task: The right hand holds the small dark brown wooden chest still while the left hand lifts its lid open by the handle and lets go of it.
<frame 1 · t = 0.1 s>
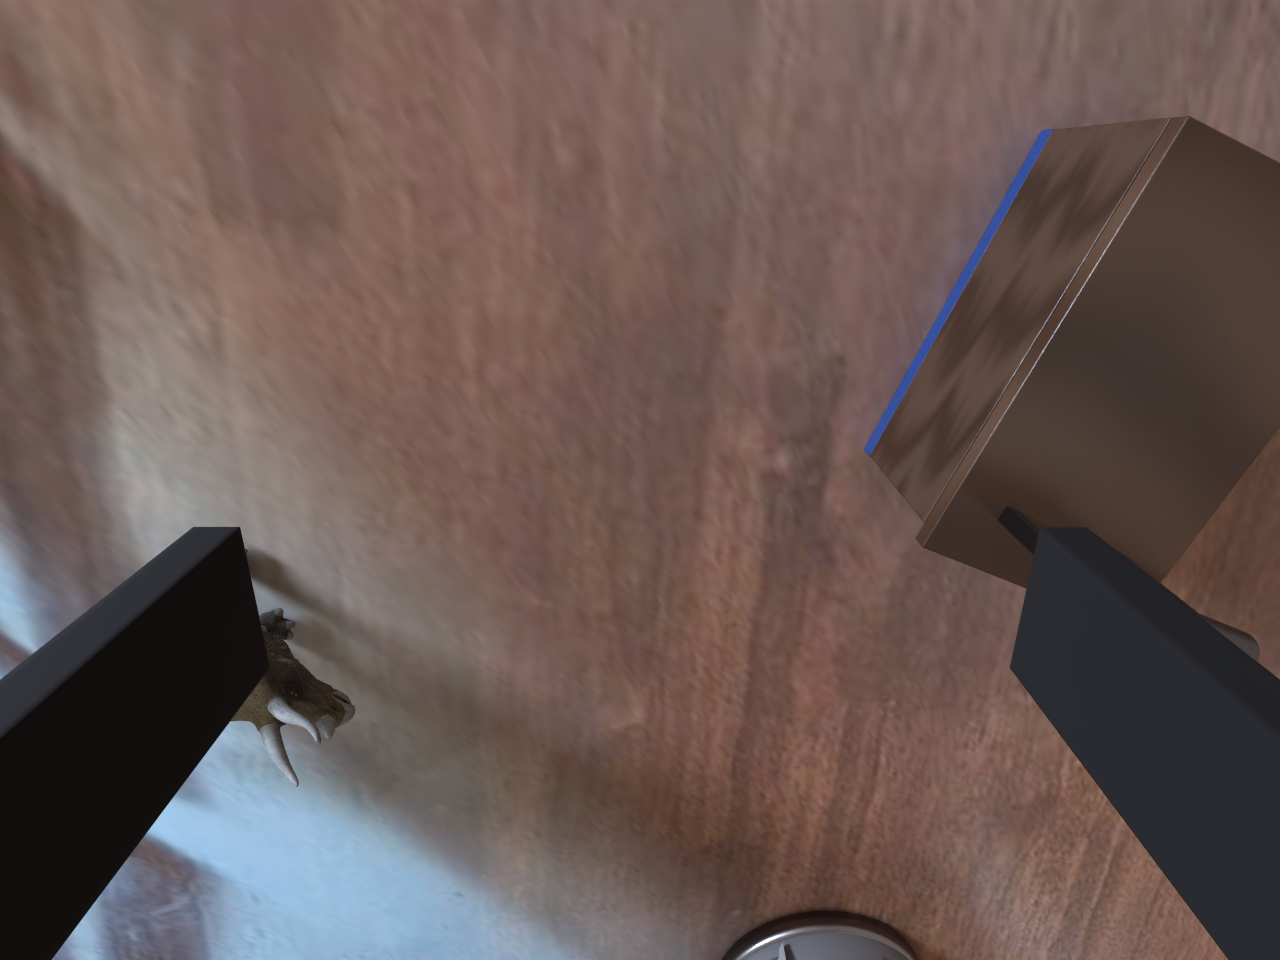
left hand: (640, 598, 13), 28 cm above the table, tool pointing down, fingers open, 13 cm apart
chest: (1033, 341, 39), on the table
toy dinosaur: (202, 606, 45), on the table
lid: (1212, 430, 27), point 14 cm above the table, hinge at 0.0°
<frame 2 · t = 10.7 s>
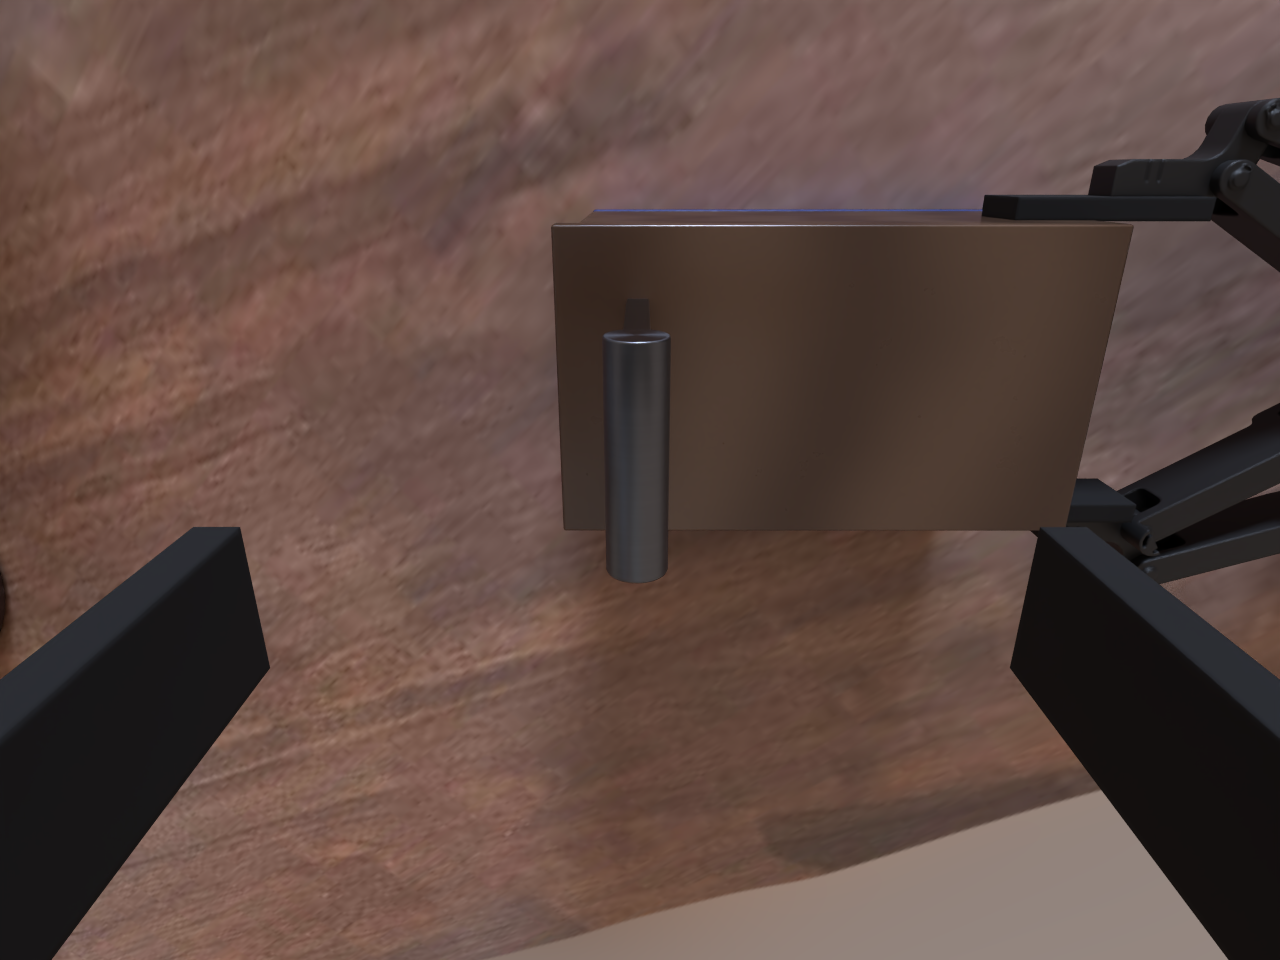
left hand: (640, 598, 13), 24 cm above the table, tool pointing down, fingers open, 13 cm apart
chest: (784, 330, 35), on the table, touching right hand
lid: (853, 419, 22), point 14 cm above the table, hinge at 0.0°
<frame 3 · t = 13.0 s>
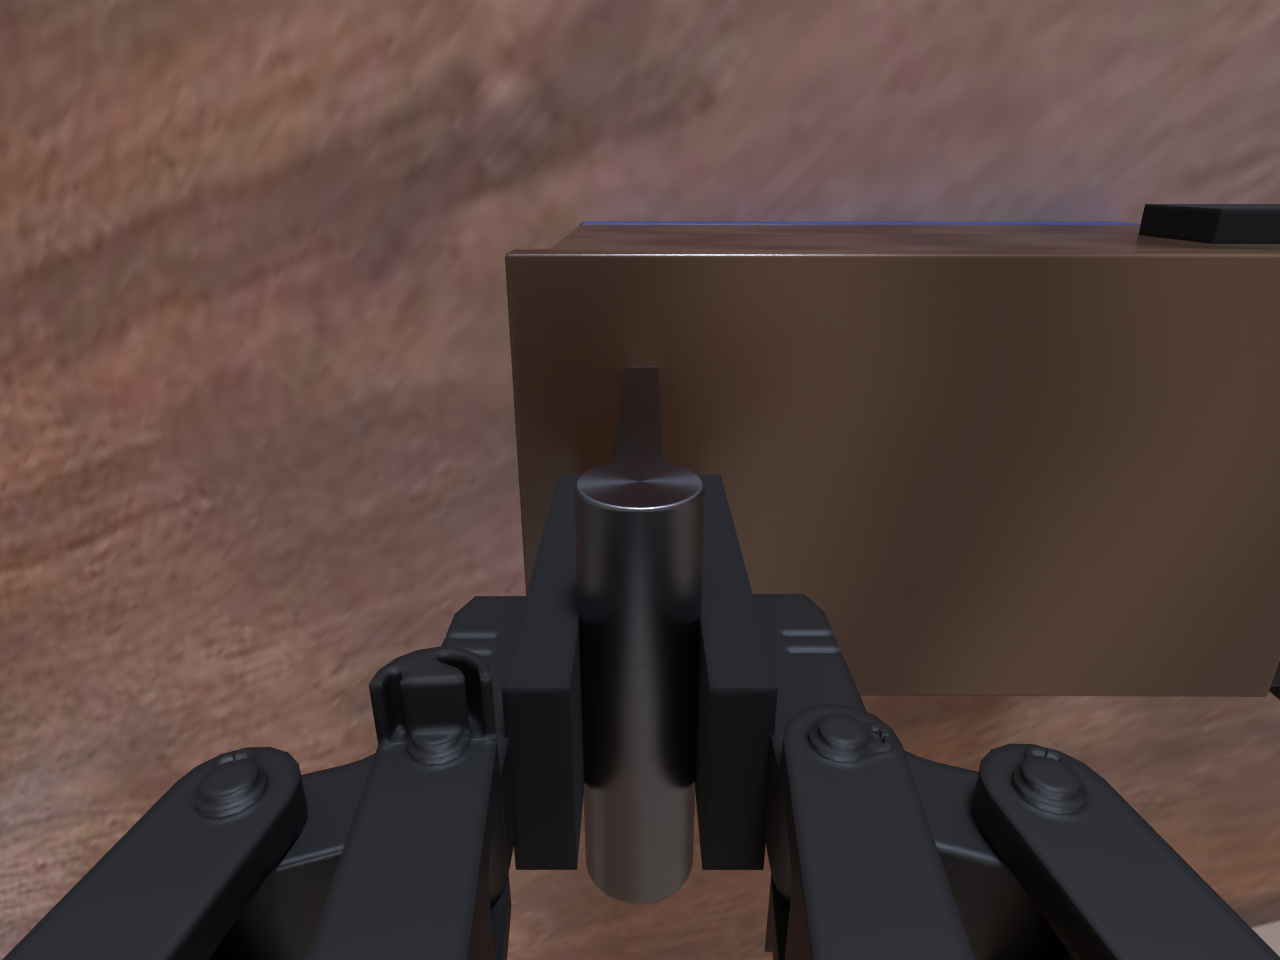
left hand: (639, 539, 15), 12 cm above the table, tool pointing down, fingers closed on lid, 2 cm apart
chest: (835, 381, 26), on the table, touching right hand
lid: (992, 573, 14), point 14 cm above the table, hinge at -0.1°, touching left hand
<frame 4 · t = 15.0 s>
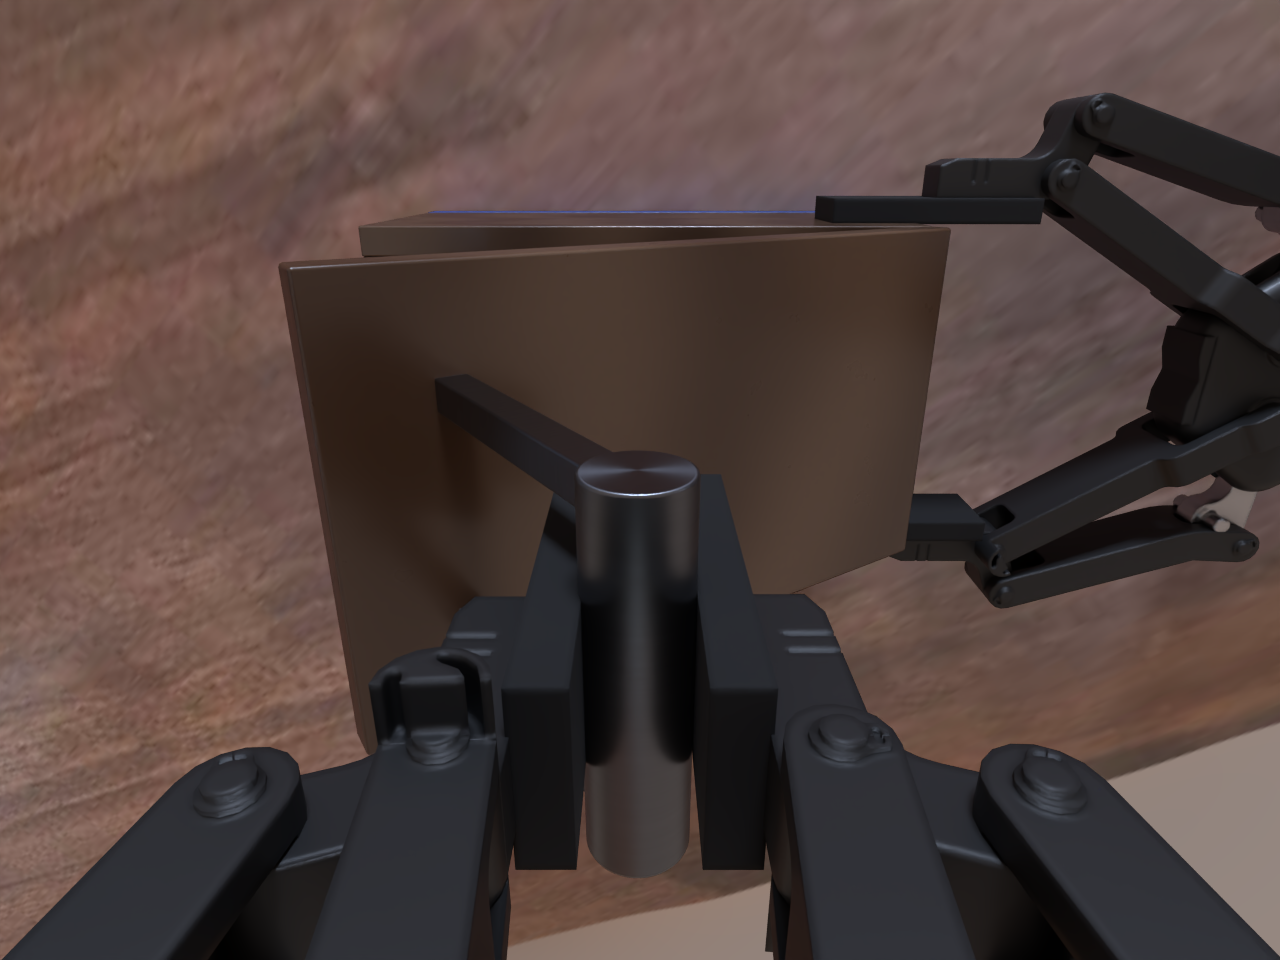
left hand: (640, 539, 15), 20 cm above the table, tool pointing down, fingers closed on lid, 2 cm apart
right hand: (809, 374, 27), fingers closed on chest, 10 cm apart
chest: (642, 337, 33), on the table, touching right hand
lid: (791, 499, 17), point 18 cm above the table, hinge at 33.3°, touching left hand
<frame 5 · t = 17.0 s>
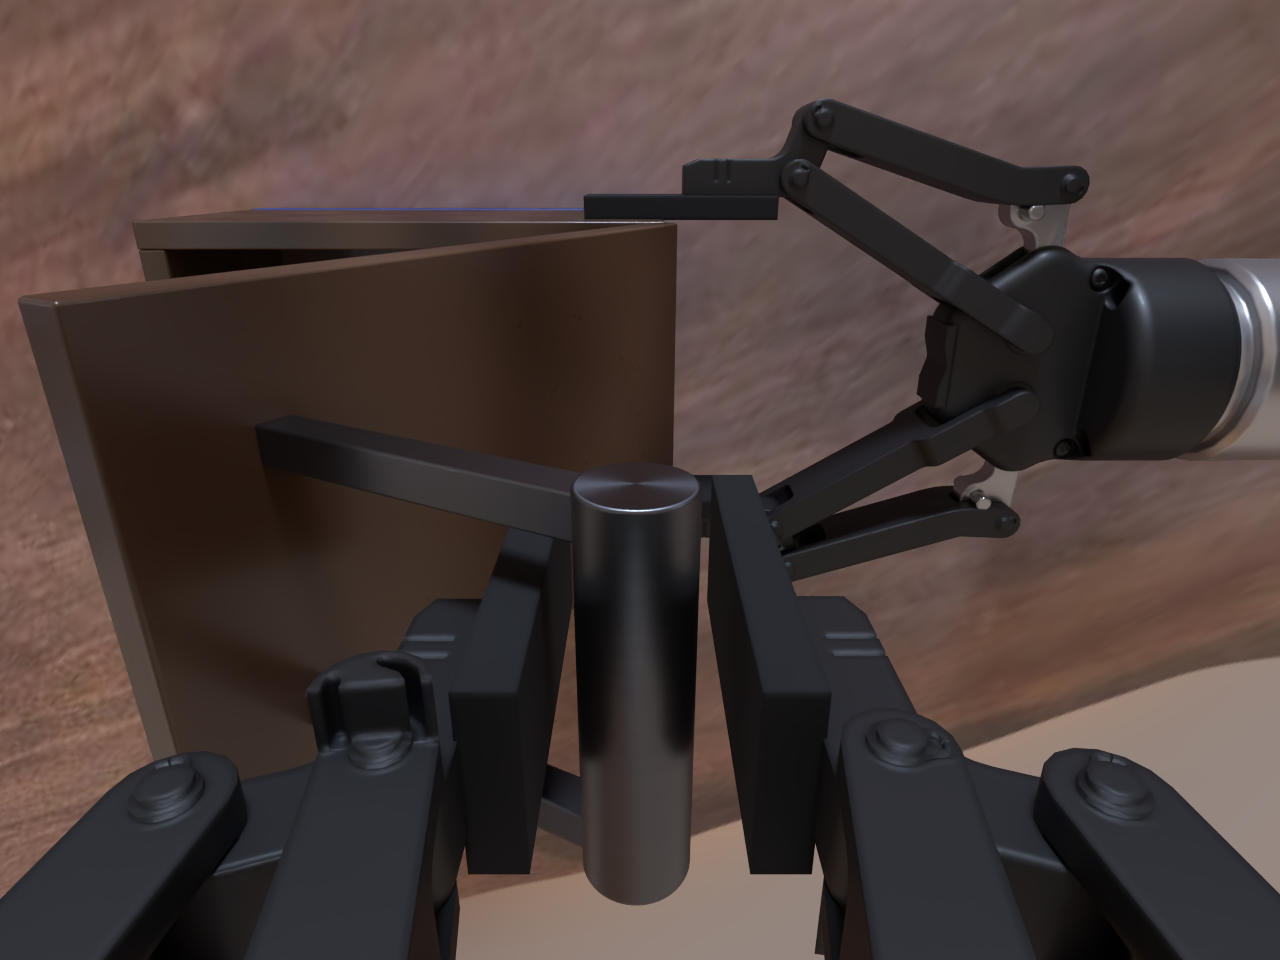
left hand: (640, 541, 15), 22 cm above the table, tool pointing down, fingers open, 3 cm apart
right hand: (590, 361, 29), fingers closed on chest, 10 cm apart
chest: (469, 328, 35), on the table, touching right hand
lid: (635, 492, 17), point 19 cm above the table, hinge at 61.6°
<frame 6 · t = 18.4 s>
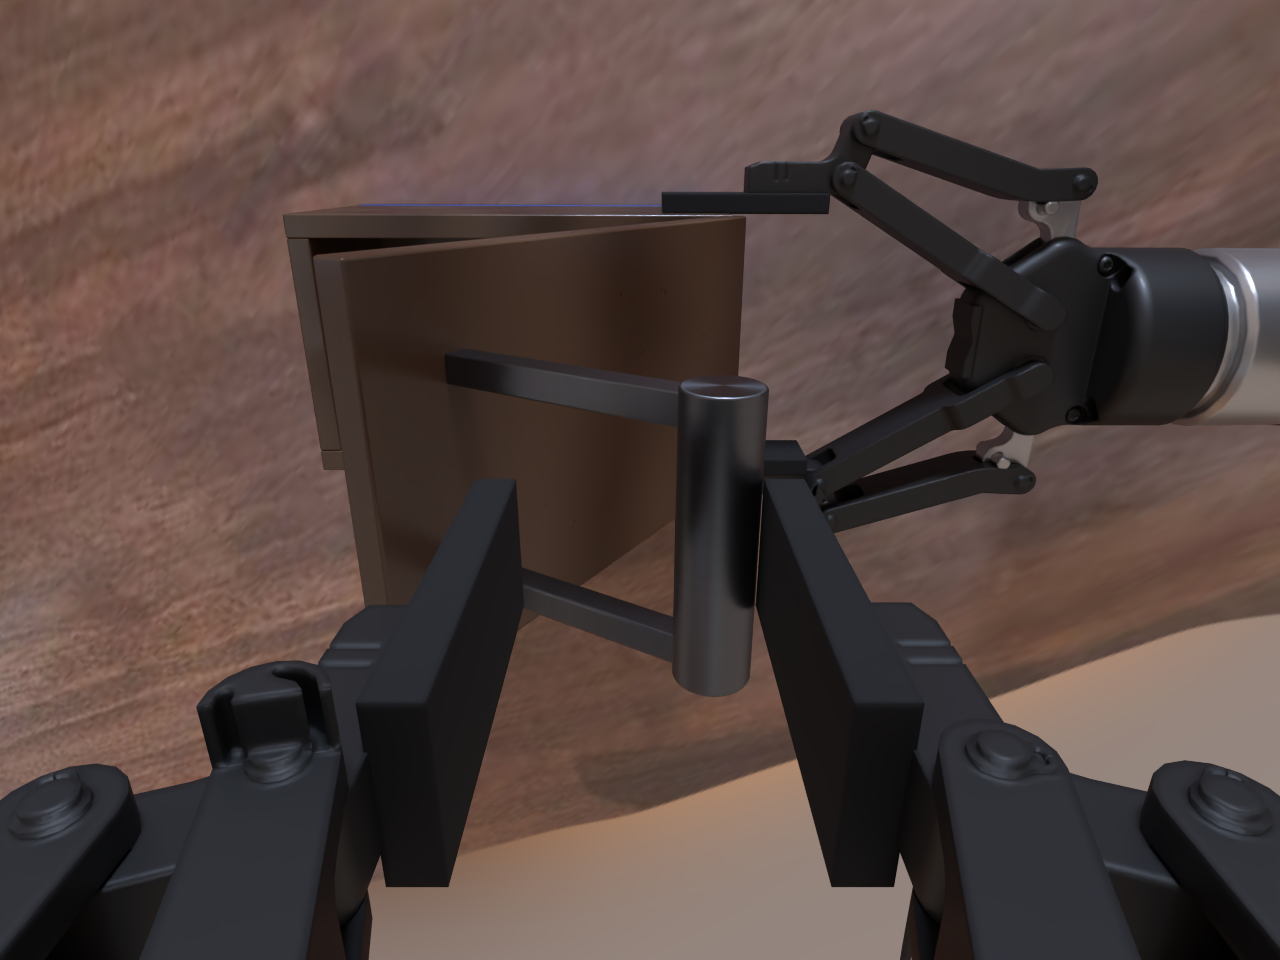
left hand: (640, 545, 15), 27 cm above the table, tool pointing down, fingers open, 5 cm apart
right hand: (660, 337, 33), fingers closed on chest, 10 cm apart
chest: (543, 311, 40), on the table, touching right hand
lid: (710, 428, 22), point 19 cm above the table, hinge at 57.9°
when the right hand's fingers open (7 cm above the table, at t = 21.5 s): chest stays where it is, on the table.
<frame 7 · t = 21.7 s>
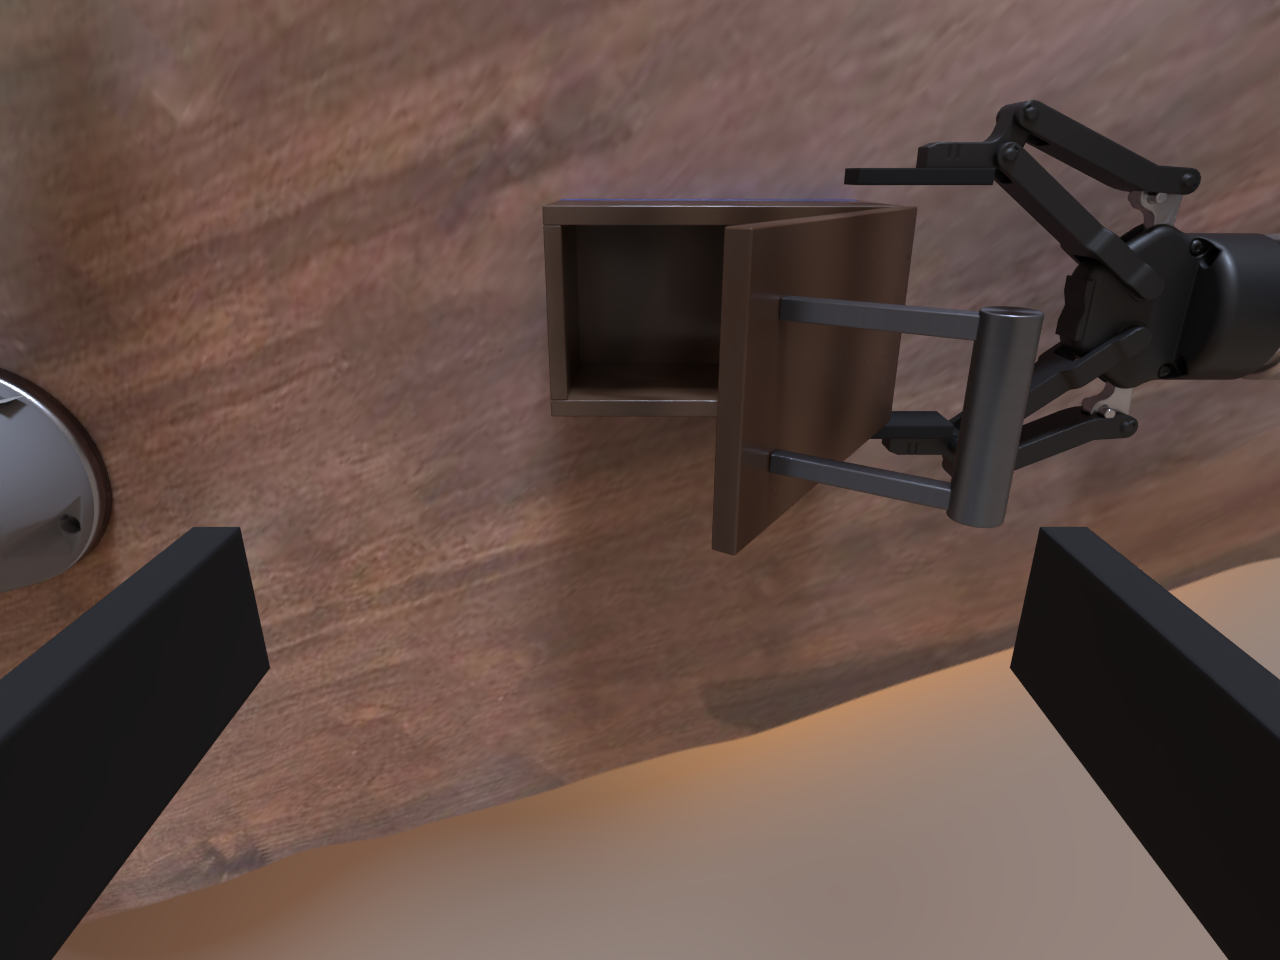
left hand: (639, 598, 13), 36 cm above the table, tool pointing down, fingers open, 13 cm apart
right hand: (838, 307, 40), fingers open, 12 cm apart
chest: (704, 290, 47), on the table
lid: (926, 363, 29), point 19 cm above the table, hinge at 57.2°
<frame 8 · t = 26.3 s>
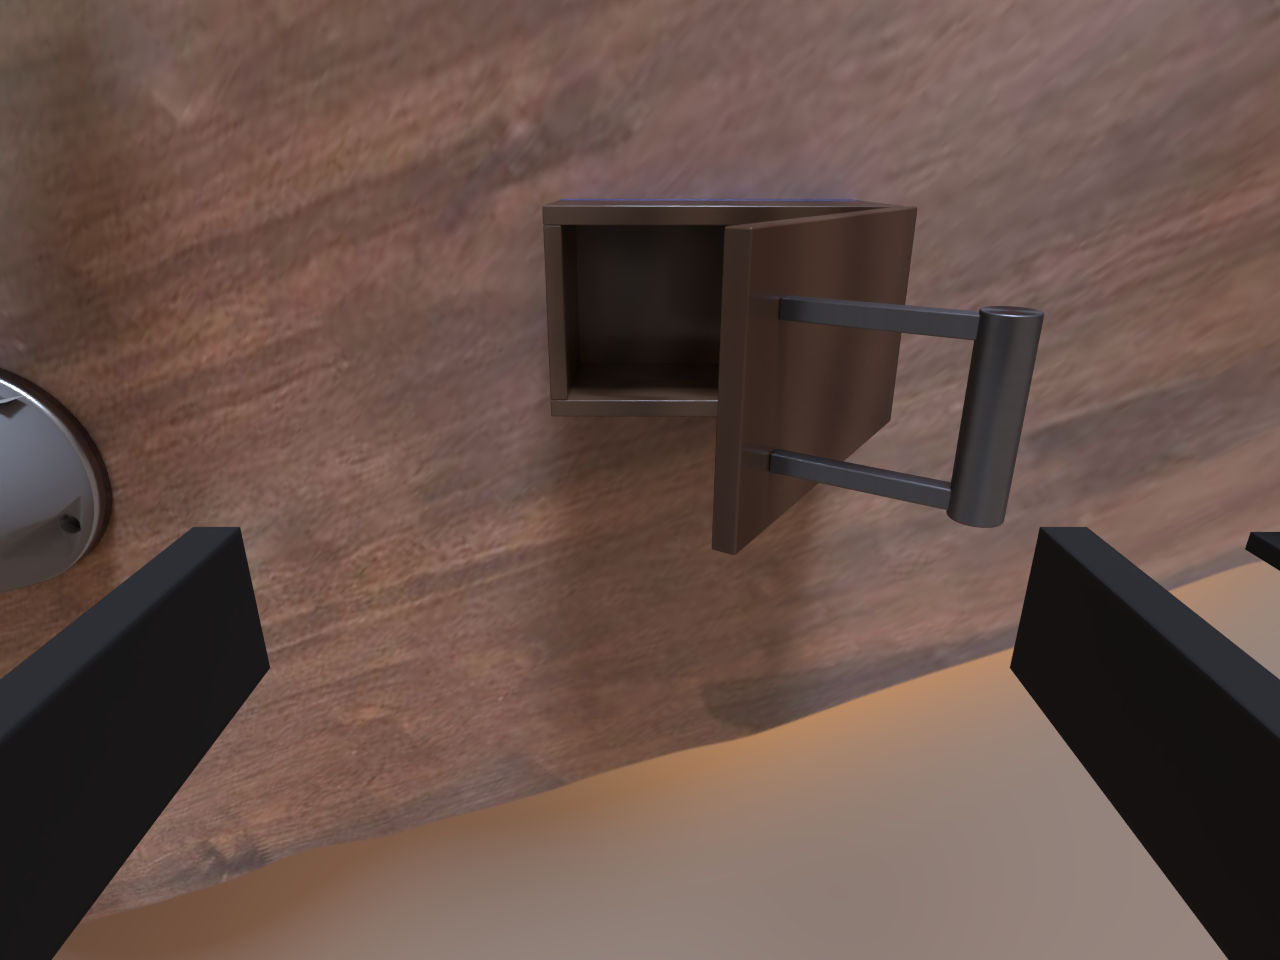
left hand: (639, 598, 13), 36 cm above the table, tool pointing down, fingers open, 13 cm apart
chest: (704, 290, 47), on the table
lid: (926, 363, 29), point 19 cm above the table, hinge at 57.2°
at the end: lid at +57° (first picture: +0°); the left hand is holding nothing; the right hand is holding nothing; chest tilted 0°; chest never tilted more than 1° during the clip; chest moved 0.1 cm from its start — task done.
